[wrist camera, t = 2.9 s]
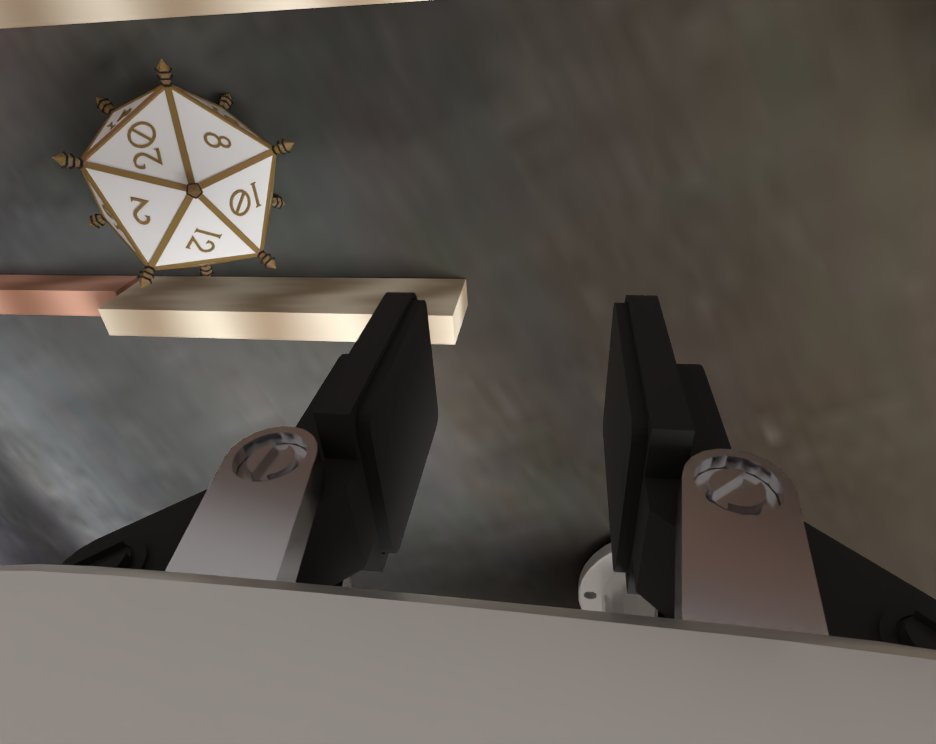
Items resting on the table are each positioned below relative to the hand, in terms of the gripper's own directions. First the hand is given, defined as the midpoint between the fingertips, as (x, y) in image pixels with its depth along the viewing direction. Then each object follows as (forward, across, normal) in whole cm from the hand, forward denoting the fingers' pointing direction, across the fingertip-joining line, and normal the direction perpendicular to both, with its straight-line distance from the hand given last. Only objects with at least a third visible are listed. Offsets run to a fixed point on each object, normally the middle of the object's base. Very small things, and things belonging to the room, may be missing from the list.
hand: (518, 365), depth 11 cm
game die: (+17, +15, 0) cm, 23 cm away
